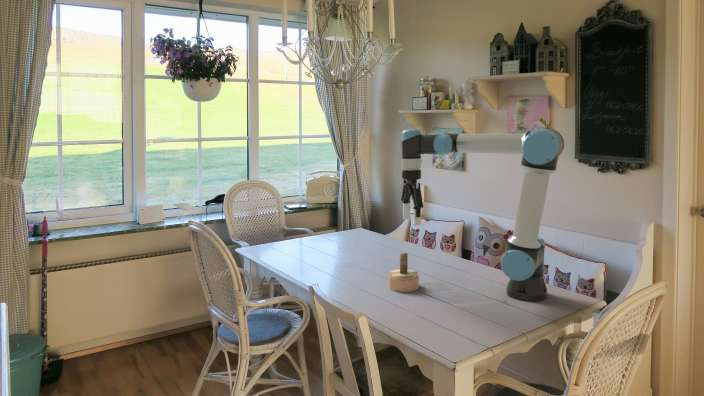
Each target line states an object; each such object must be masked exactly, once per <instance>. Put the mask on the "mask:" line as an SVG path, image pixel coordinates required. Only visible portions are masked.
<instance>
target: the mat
mask: <svg viewBox="0 0 704 396" xmlns="http://www.w3.org/2000/svg"><path fill="white" fill-rule="evenodd" d="M419 285H421V286H423V288H425V290H427V292H433V291H447V290H449V291H450V290H452V288H451V286H449V285H448V284H447V283H446V282H445V281H433V282H419Z"/></svg>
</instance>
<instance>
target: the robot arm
mask: <svg viewBox="0 0 704 396" xmlns="http://www.w3.org/2000/svg"><path fill="white" fill-rule="evenodd" d="M564 148H565V140H564V137H563V135H562V134H561V133H560V132H559V130H556V129H553V128H538V129H534V130H526V131H525V132H524V133H451V132H449V133H448V132H447V133H440V134H437V133H436V134H422V131H421V129H404V130H403V131H402V132H401V169H402V170H401V178H402V180H403V181H402V184H403V185H402V192H401V196H400V197H401V198H400V201H401V202H402V205H403V206H402V220H410V219H411V200H410V199H412V202H413V207H412V209H413V226H422V209H423V208H424V203H423V197H422V190H421V182H418V180H421V179H422V170H421V168H422V163H423V160H422V155H439V156H440V155H441V156H442V155H448V154H450V153H457V154H458V153H459V154H460V153H462V154H465V153H467V154H469V153H471V154H472V153H473V154H474V153H475V154H505V155H507V154H508V155H510V154H511V155H514V154H515V155H522V156H521V157H522V158H521V163H520V166H521V168H522V169H523V171H524V172H523V176H522V177H523V178H522V183H521V187H520V193H519V197H518V198H519V200H518V205H517V209H516V210H517V211H516V215H515V220H514V225H513V230H512V235H511V236H508V238H507V240H506V246H505V251H504V253H503V254H502V256H501V258H500V259H501V260H500V268H501V272H503V274H504V275H505V276H506V278H509V279H508V280H509V281H508V283H507V285H506V292H505V293H506V295H507V296H509V297H510V298H513V299H515V300H520V301H527V302H531V301H532V302H533V301H534V302H535V301H536V302H537V301H543V300H545V299H547V298H548V288H547V285H546V281H545V279H544V270H545V269H544V268H545V248H546V245H545V244H546V243H545V240H544V238H542V237H539V233H540V229H541V228H540V227H541V224H542V223H541V222H542V217H543V212H544V207H545V202H546V196H547V193H548V187H549V182H550V176H551V174H553V173H554V172H556V171H557V165H558V161H559V157H560V156H561V154H562V153H563V152H564V150H565V149H564Z"/></svg>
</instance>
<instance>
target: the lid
mask: <svg viewBox="0 0 704 396" xmlns="http://www.w3.org/2000/svg"><path fill="white" fill-rule="evenodd" d="M408 255H409V254H408V253H407V252H400V254H399V269H394V270H391V271H390V272H389V274H390V277H391V278H393V279H397V280H412V279H415V278H417V275H419V274H418V272H417V271H415V270H413V269H408V263H409V262H408V257H409V256H408Z"/></svg>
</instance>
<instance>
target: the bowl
mask: <svg viewBox="0 0 704 396" xmlns="http://www.w3.org/2000/svg"><path fill="white" fill-rule="evenodd" d="M387 287H388V288H389V290H392V291H395V292H401V293H402V292H403V293H404V292H414V291H417V290H418V289H419V288H420V276H419V274H417V278H415V279H412V280H397V279H393V278H391V277H390V273H389V274H388V275H387Z"/></svg>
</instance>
